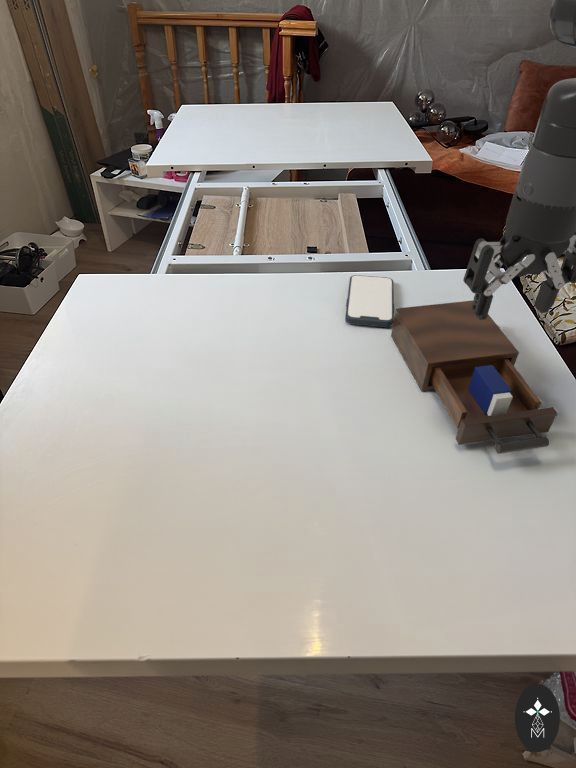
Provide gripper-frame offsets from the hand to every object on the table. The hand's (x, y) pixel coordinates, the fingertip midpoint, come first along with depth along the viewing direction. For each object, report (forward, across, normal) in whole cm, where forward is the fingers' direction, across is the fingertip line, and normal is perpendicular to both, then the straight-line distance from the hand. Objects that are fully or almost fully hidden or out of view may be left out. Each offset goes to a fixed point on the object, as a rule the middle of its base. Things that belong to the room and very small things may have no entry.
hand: (509, 312), depth 69 cm
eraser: (+15, 0, +1) cm, 15 cm away
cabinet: (+17, 0, -12) cm, 21 cm away
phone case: (+18, +8, -30) cm, 36 cm away
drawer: (+16, 0, +3) cm, 17 cm away
